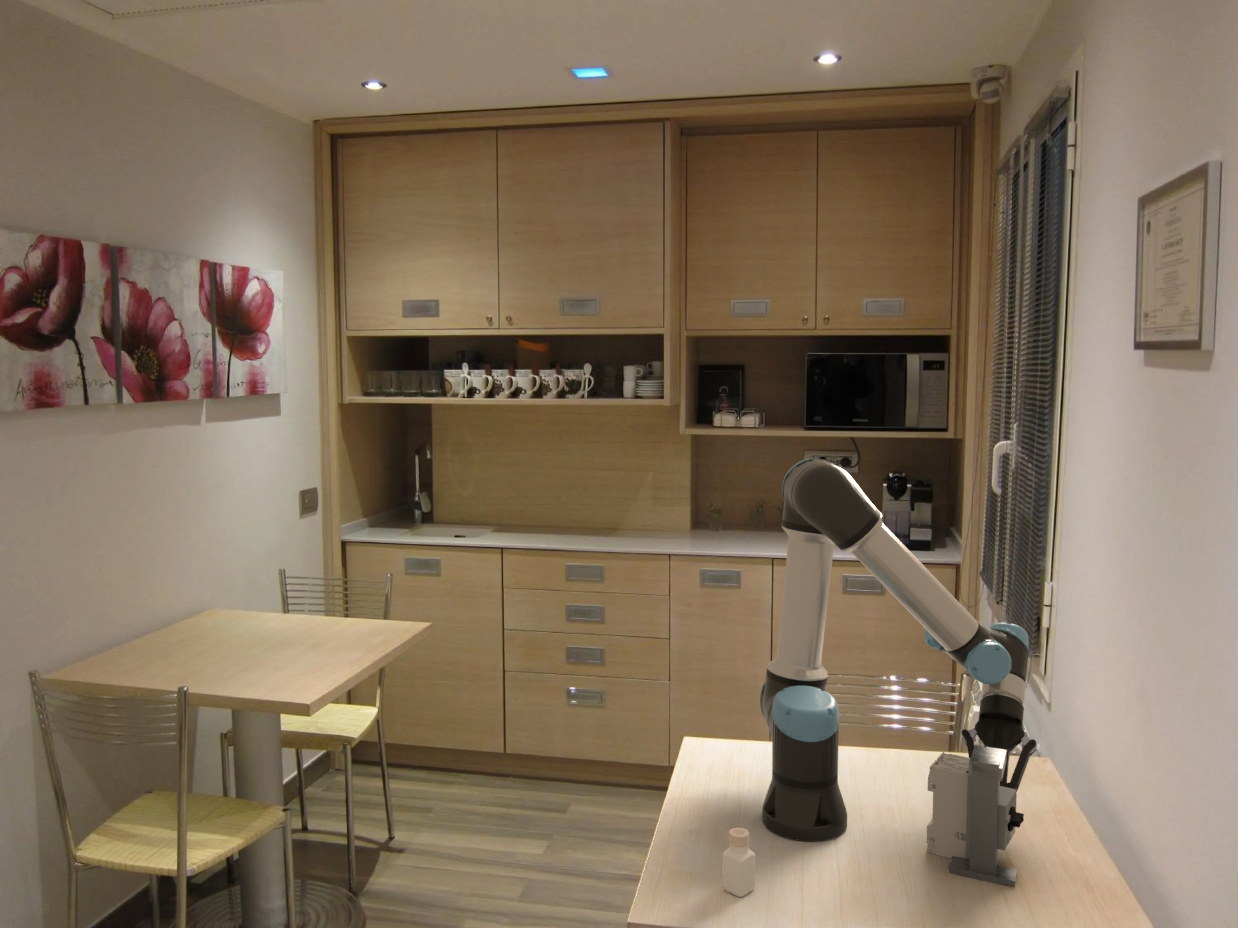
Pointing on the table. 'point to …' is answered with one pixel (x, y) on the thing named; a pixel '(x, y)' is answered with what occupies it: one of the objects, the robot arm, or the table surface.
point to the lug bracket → (985, 819)
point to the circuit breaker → (962, 809)
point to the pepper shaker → (739, 864)
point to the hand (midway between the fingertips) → (990, 826)
